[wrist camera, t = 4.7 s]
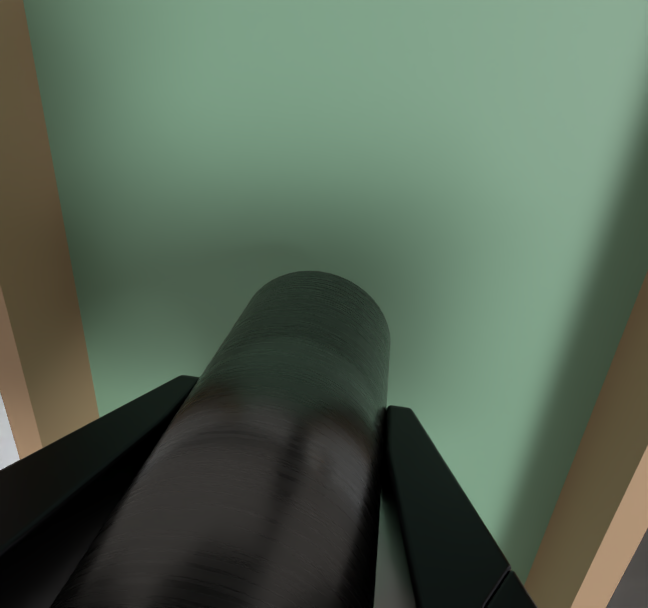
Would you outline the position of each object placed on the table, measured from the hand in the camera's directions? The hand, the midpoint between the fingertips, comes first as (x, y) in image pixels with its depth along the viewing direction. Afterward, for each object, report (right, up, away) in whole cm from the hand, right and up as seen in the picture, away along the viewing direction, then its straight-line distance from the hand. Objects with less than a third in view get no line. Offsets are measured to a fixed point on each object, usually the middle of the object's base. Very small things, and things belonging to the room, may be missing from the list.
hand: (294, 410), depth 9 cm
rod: (0, -4, +7) cm, 7 cm away
